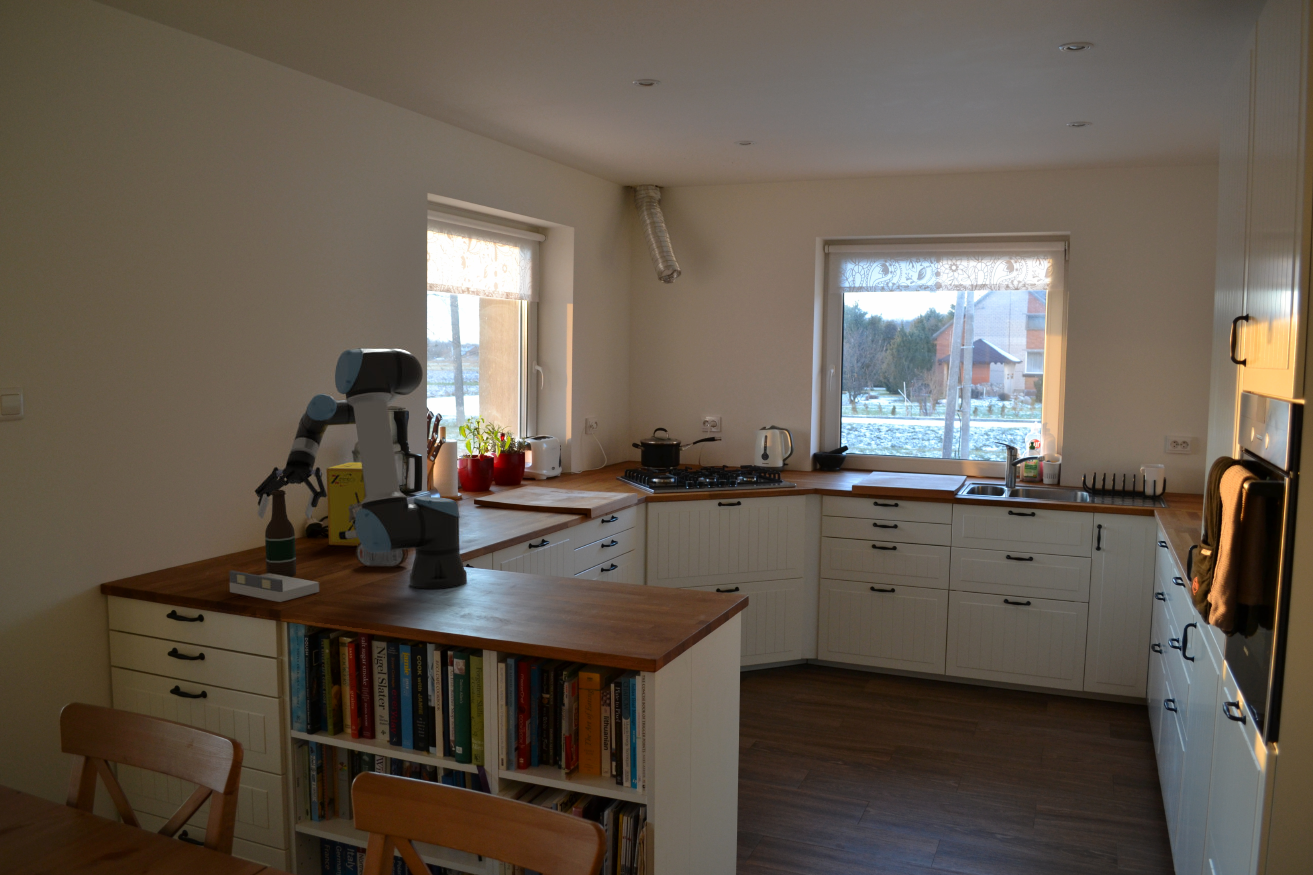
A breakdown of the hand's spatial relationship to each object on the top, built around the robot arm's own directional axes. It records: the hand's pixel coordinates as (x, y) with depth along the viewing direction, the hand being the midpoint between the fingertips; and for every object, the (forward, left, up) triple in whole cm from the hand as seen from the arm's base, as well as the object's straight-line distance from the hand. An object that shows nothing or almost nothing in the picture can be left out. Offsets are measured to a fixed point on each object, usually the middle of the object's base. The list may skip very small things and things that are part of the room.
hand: (283, 515), depth 273 cm
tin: (-19, -18, -16) cm, 31 cm away
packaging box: (+15, -42, -16) cm, 48 cm away
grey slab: (-17, +17, -16) cm, 29 cm away
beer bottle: (-3, +4, -16) cm, 17 cm away
